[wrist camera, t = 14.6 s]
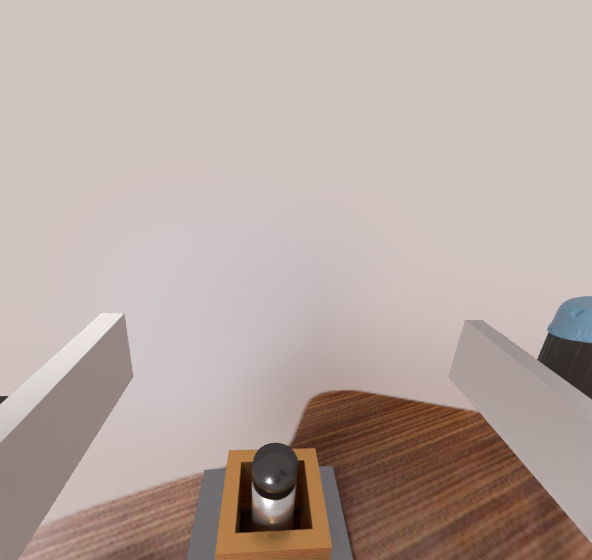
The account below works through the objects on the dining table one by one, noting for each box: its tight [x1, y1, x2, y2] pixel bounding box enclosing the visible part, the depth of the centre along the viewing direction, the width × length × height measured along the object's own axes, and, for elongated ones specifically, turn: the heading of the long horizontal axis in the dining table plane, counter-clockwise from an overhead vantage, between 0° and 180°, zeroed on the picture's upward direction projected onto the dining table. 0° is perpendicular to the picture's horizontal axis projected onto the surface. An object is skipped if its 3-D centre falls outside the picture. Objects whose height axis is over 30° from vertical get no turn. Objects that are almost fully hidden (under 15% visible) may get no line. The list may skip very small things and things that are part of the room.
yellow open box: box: [186, 448, 353, 560], centre depth 30 cm, size 16×16×8 cm
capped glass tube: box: [251, 443, 298, 532], centre depth 29 cm, size 4×4×12 cm
